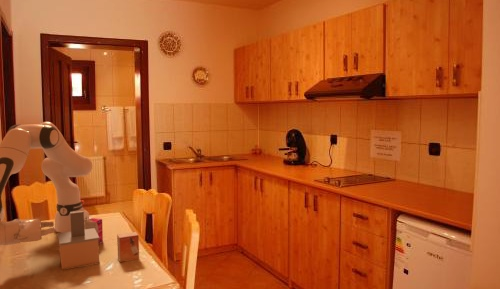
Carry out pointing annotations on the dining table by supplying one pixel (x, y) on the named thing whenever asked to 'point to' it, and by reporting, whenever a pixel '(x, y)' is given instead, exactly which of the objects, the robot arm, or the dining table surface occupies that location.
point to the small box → (128, 246)
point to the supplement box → (97, 225)
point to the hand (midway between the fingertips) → (54, 226)
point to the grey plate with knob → (77, 231)
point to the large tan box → (79, 254)
